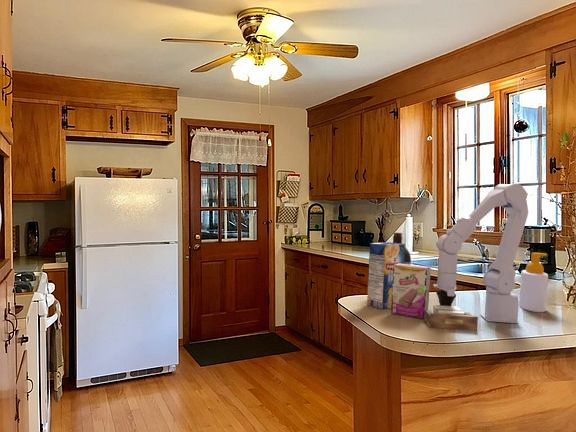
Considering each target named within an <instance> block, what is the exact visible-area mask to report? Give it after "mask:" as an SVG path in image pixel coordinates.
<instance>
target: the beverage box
mask: <svg viewBox="0 0 576 432" xmlns="http://www.w3.org/2000/svg"><path fill="white" fill-rule="evenodd" d="M405 245H406V244H405V243H402V244H399V243H393V242H392V241H391V242H390V241H387V242H370V243H369V255H368V256H369V257H368V274H367V275H368V277H367V300H366V305H367V306H368V307H372V308H376V309H379V310H387V309H391V305H392V288H393V270H394V265H395V264H398V263H400V264H404V252H405V248H406V246H405Z"/></svg>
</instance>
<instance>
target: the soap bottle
mask: <svg viewBox="0 0 576 432" xmlns="http://www.w3.org/2000/svg"><path fill="white" fill-rule="evenodd" d="M547 255H548V254H547V253H543V252H531V258H530V260H531V261H530V262H529V263H527V264H526V267H525V269H522V270H521V273H520V286H519V287H520V288H519V300H518V301H519V307H520V308H521V309H524V310H526V311H529V312H534V313H544V312H546V310H547V301H548V285H549V284H548V282H549V275H548V273H546V272H544V271H545V270H544V269H545V268H544V266H543V264H542V263H541V262H540V260H541V259H540V258H541V257H547Z"/></svg>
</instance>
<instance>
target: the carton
mask: <svg viewBox="0 0 576 432" xmlns="http://www.w3.org/2000/svg"><path fill="white" fill-rule="evenodd" d="M432 308H433V309H432V313H440V314H455V315H465V313H464V311H463V310H462V309H461V308H460V307H459V306H458V305H457V306H456V305H455V306H453V305H451V306H441V305H440V304H437V305H436V304H433V307H432Z"/></svg>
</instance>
